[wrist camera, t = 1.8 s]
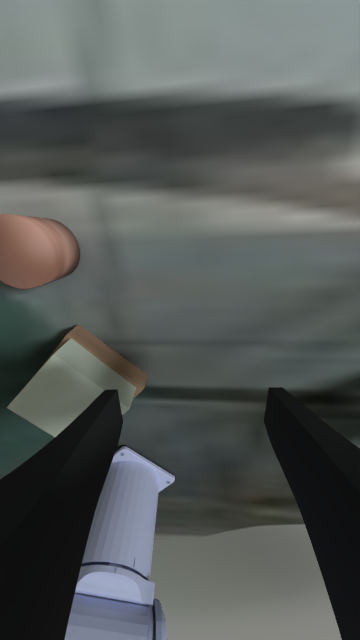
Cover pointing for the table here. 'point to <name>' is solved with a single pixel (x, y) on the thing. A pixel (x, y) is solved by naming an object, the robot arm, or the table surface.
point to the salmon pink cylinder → (35, 251)
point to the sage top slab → (68, 389)
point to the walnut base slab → (106, 357)
